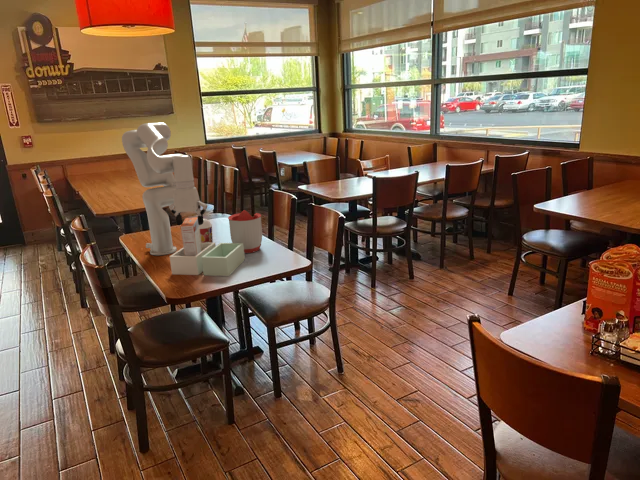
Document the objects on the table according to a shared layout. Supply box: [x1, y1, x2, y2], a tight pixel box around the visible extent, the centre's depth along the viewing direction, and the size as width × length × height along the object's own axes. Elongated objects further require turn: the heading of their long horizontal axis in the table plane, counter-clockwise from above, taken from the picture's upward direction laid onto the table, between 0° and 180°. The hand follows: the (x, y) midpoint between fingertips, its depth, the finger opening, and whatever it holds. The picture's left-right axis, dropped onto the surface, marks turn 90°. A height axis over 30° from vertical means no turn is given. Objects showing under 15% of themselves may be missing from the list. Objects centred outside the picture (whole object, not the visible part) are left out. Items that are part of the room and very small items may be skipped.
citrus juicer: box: [227, 209, 263, 254], centre depth 224 cm, size 16×17×20 cm
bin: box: [202, 242, 246, 277], centre depth 203 cm, size 11×20×8 cm, turn 169°
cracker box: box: [179, 216, 203, 256], centre depth 204 cm, size 14×6×21 cm, turn 6°
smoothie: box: [199, 217, 214, 243], centre depth 222 cm, size 8×8×20 cm
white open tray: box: [168, 242, 217, 276], centre depth 206 cm, size 12×20×8 cm, turn 169°
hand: (190, 224), depth 201 cm, fingers open, 9 cm apart
